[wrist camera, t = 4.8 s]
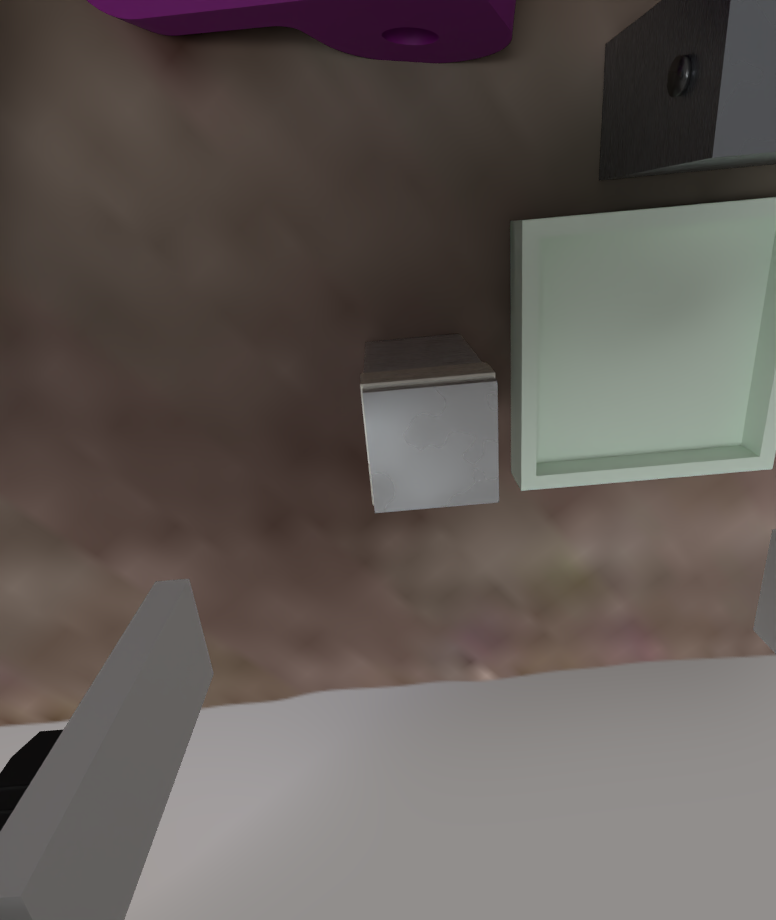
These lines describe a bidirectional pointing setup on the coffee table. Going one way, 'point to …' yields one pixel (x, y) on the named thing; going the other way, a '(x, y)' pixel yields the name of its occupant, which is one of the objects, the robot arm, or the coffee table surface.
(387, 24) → the mounting bracket
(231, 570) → the coffee table surface
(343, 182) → the coffee table surface
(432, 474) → the module
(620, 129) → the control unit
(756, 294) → the tray
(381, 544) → the coffee table surface
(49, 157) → the coffee table surface
